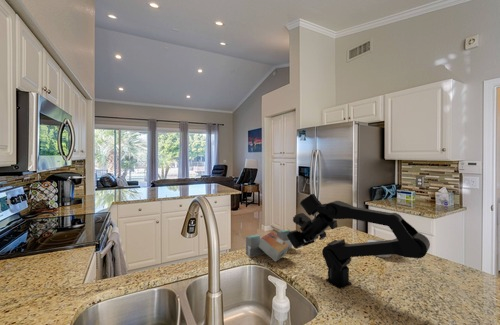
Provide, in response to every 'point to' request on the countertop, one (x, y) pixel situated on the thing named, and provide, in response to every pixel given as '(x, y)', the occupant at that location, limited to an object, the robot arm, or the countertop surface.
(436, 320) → the countertop surface
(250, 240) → the block
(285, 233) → the block
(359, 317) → the countertop surface
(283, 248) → the small box
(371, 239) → the ramekin
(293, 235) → the robot arm
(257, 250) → the rail
